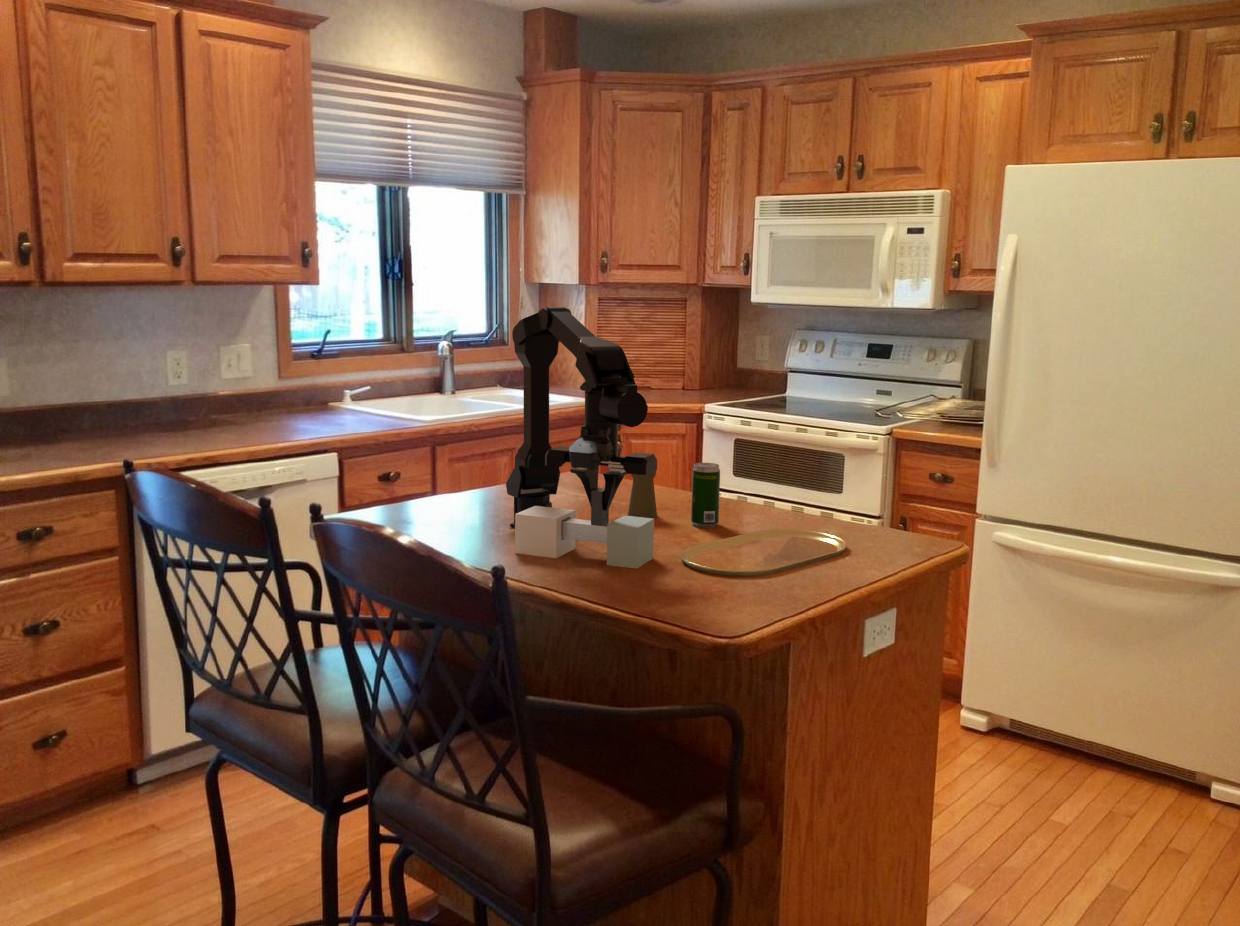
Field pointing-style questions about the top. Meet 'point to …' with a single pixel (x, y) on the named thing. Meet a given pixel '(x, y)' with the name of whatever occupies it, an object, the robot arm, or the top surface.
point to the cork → (643, 496)
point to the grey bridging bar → (589, 522)
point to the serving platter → (757, 535)
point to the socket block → (630, 541)
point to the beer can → (705, 495)
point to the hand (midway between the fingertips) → (600, 509)
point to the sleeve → (542, 532)
